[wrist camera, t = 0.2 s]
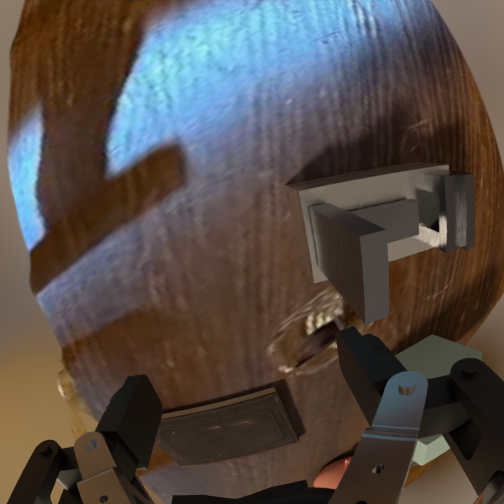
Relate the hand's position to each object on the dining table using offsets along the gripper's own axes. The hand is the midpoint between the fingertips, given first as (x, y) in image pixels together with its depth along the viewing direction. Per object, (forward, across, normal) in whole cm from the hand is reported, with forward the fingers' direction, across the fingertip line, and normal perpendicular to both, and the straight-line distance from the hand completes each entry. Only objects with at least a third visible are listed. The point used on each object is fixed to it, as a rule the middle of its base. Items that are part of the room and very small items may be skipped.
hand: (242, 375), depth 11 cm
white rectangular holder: (+22, -16, -1) cm, 27 cm away
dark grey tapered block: (+16, -13, -1) cm, 20 cm away
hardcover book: (+26, +11, +29) cm, 41 cm away
